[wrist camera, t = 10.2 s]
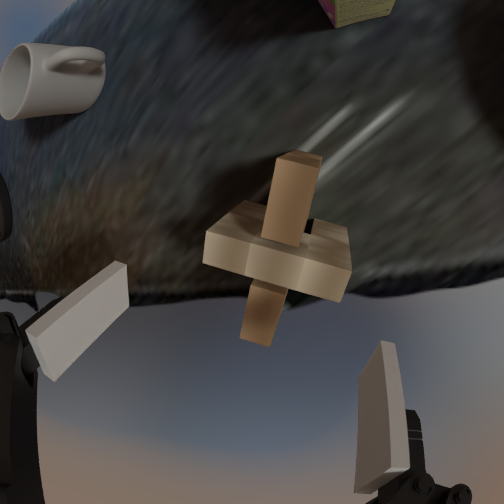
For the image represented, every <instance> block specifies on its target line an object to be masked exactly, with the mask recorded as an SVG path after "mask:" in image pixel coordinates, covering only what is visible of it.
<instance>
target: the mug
mask: <svg viewBox="0 0 504 504" xmlns="http://www.w3.org/2000/svg"><path fill="white" fill-rule="evenodd" d="M105 76H106V67H105V54H104V53H103V52H102V51H100V50H98V49H95V48H90V47H69V46H61V45H51V44H39V43H22V44H19V45H18V46H16V47H15V48H14V49H13V50H12V52H11V53H10V54H9V56H8V57H7V59H6V61H5V64H4V66H3V68H2V71H1V74H0V114H1V116H2V117H3V118H4V119H5V120H18V119H24V118H31V117H39V116H47V115H57V114H73V113H80V112H83V111H85V110H87V109H89V108H90V107H91V106H92V105H93V104H94V103H95V102H96V100H97V99H98V97H99V95H100V93H101V91H102V88H103V86H104V82H105Z"/></svg>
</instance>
